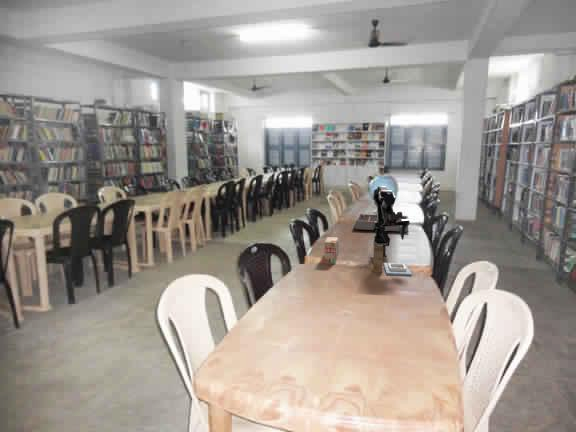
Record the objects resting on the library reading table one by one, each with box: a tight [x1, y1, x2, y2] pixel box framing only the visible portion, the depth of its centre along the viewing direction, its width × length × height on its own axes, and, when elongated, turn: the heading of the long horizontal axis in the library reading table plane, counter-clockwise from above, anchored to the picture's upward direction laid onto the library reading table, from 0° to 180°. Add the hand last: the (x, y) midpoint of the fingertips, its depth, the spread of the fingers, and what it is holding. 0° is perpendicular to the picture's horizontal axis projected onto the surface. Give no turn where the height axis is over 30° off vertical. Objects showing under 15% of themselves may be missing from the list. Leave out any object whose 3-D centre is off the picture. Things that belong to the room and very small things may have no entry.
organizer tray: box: [354, 212, 410, 233], centre depth 309 cm, size 32×40×10 cm
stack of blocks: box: [323, 236, 340, 265], centre depth 224 cm, size 21×6×12 cm, turn 168°
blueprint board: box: [383, 262, 413, 277], centre depth 203 cm, size 18×12×2 cm, turn 172°
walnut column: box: [372, 245, 384, 273], centre depth 201 cm, size 4×4×13 cm
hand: (394, 240), depth 202 cm, fingers open, 9 cm apart
